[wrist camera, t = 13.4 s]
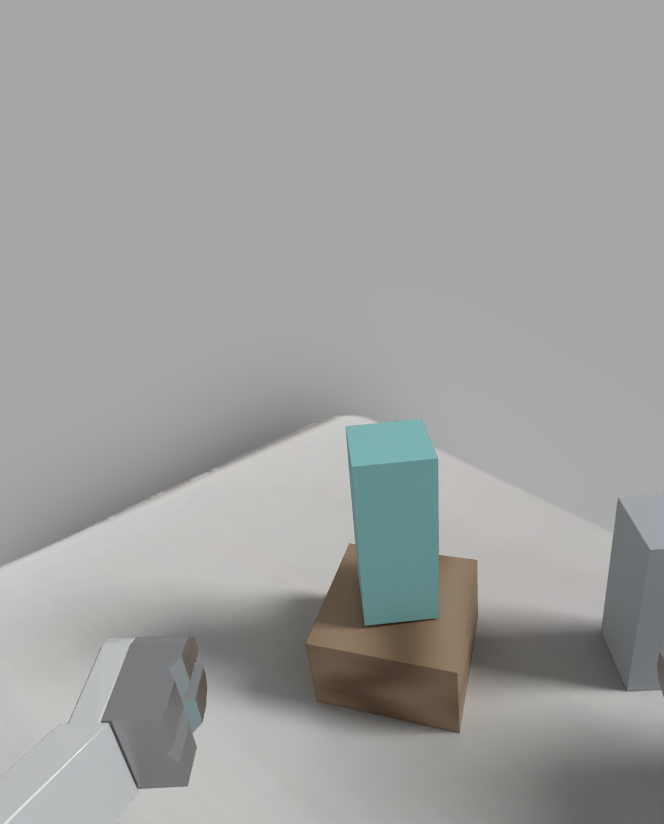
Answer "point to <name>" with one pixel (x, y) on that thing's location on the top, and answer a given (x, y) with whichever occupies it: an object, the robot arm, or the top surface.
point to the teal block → (395, 520)
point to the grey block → (636, 591)
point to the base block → (397, 650)
